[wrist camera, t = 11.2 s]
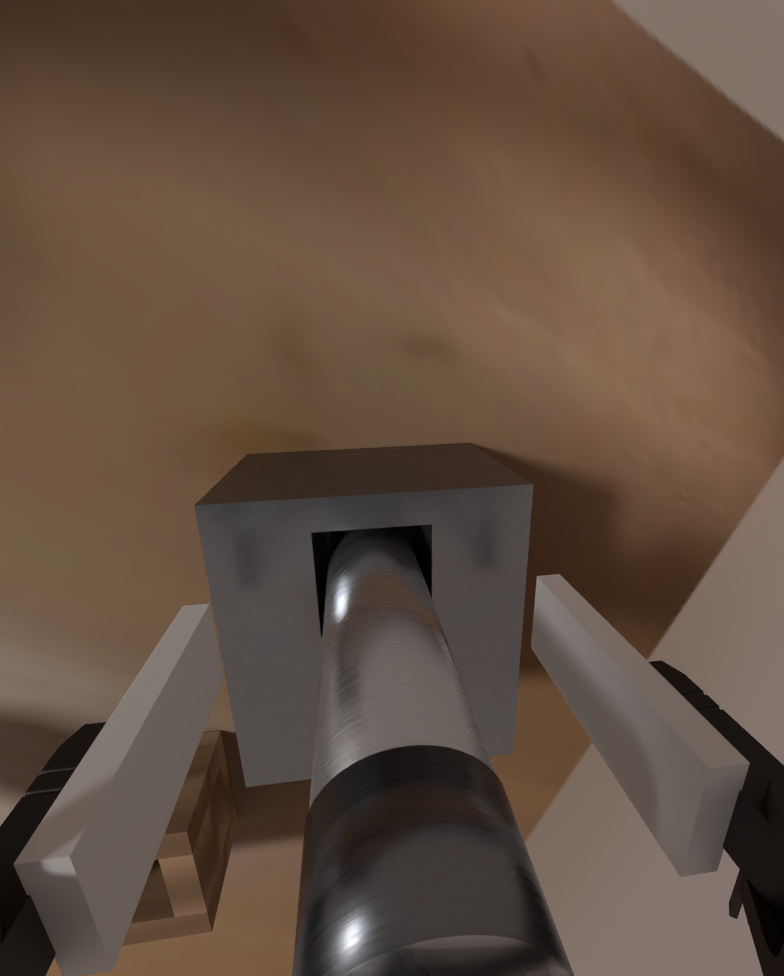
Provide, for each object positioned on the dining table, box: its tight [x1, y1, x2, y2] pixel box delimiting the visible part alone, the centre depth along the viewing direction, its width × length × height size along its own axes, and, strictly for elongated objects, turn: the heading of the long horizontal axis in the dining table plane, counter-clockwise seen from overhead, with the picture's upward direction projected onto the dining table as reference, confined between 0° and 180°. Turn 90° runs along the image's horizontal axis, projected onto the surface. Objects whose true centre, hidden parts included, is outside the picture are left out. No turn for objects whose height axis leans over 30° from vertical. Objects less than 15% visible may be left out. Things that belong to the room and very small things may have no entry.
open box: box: [122, 731, 238, 946], centre depth 25 cm, size 8×8×6 cm
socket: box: [194, 443, 534, 787], centre depth 20 cm, size 12×13×8 cm
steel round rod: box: [292, 526, 574, 976], centre depth 14 cm, size 4×4×18 cm
